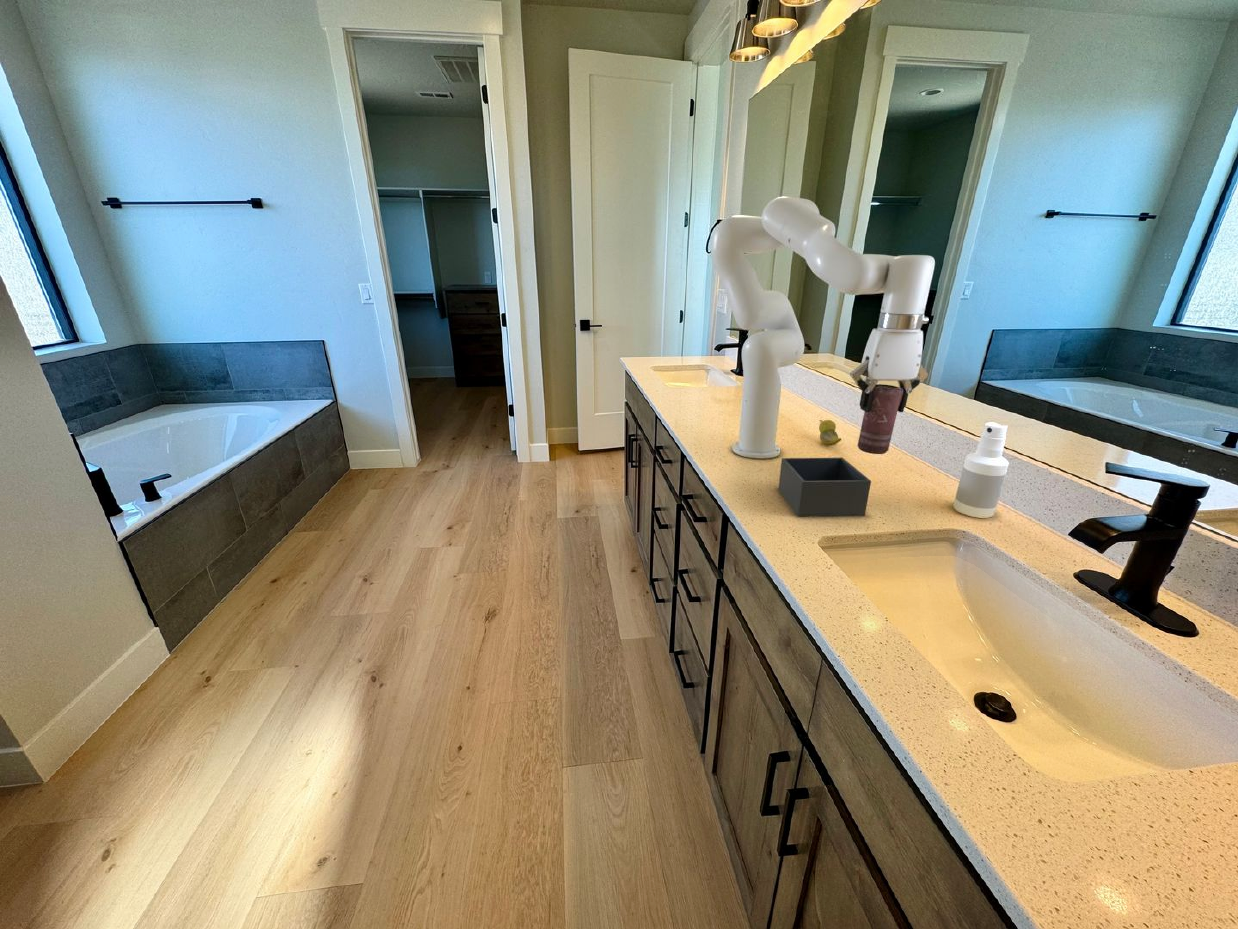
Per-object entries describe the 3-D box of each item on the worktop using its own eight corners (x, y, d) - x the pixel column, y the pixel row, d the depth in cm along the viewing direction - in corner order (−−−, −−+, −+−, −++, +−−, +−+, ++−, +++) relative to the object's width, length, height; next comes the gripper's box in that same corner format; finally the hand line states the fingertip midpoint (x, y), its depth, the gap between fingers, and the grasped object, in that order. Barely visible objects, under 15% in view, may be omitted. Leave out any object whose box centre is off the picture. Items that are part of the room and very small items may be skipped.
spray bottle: (945, 506, 100) (966, 422, 94) (968, 501, 103) (990, 418, 96) (978, 521, 94) (1003, 431, 88) (1002, 515, 97) (1028, 427, 90)
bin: (778, 489, 110) (781, 458, 107) (837, 488, 110) (842, 457, 107) (798, 516, 97) (802, 481, 95) (864, 515, 97) (871, 481, 95)
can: (892, 455, 104) (908, 390, 99) (860, 453, 105) (874, 389, 100) (884, 446, 110) (898, 384, 104) (854, 444, 111) (866, 382, 105)
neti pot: (825, 436, 145) (828, 414, 143) (846, 453, 131) (850, 429, 129) (810, 436, 145) (813, 414, 143) (830, 453, 131) (833, 429, 129)
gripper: (932, 320, 101) (912, 405, 107) (847, 320, 101) (833, 405, 107) (955, 325, 94) (932, 415, 100) (864, 324, 94) (848, 415, 101)
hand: (881, 409), depth 104 cm, fingers closed on can, 6 cm apart
